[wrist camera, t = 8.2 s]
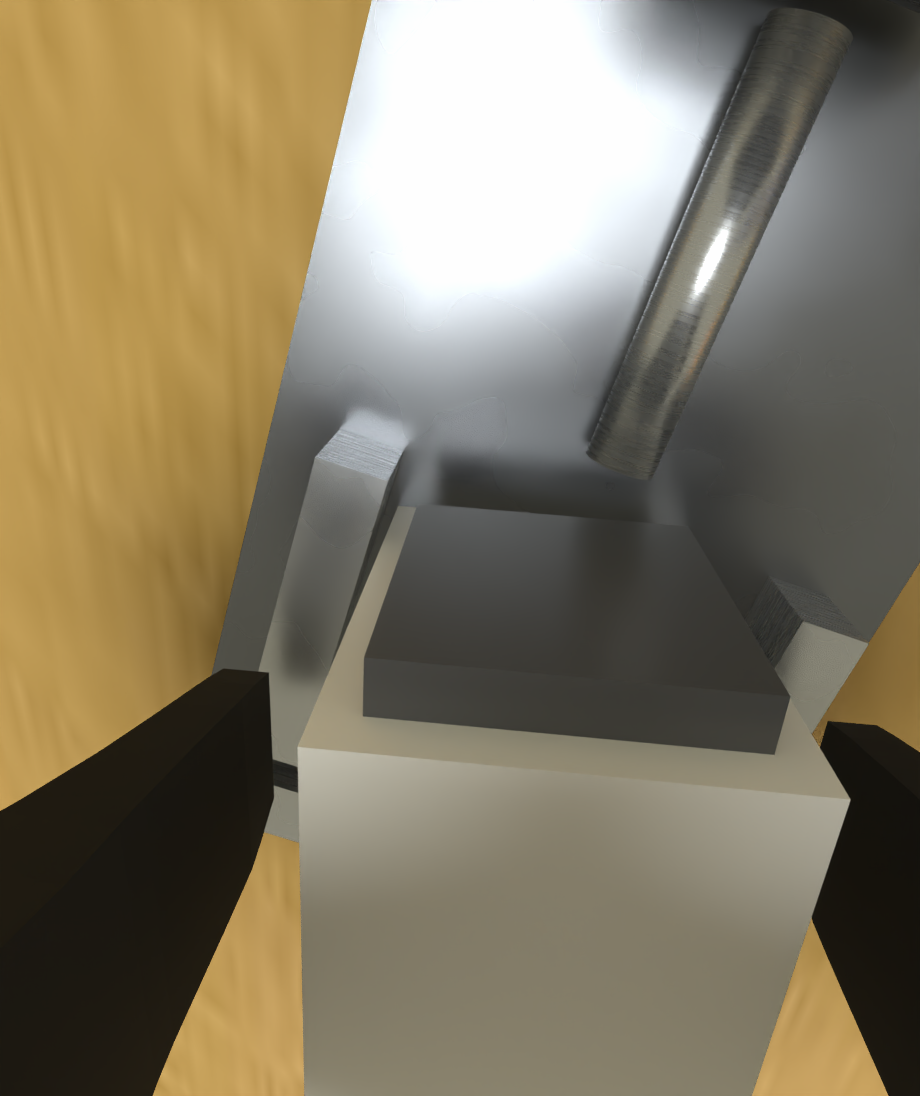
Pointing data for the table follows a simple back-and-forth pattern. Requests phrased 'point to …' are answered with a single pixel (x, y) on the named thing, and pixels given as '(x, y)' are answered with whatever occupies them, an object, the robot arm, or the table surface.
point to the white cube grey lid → (552, 820)
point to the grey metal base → (607, 316)
